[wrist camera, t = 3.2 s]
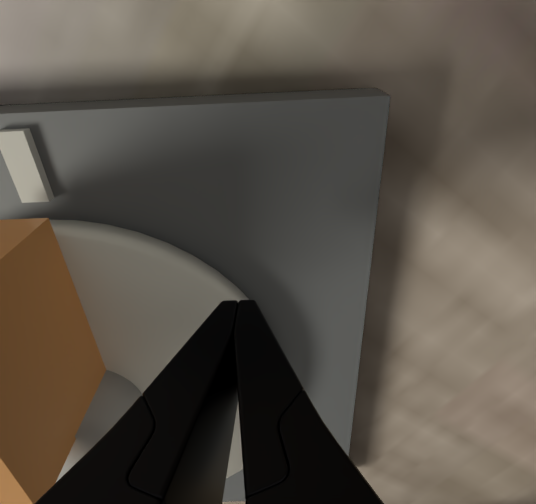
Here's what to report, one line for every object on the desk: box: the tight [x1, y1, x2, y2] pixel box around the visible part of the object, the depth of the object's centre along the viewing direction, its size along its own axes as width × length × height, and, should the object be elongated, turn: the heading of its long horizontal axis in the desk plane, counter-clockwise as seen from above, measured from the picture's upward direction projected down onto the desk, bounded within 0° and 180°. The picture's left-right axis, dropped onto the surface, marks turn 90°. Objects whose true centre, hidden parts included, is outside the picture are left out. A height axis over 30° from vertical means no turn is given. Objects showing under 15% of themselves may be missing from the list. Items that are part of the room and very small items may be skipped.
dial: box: [0, 218, 249, 504], centre depth 12 cm, size 14×14×6 cm
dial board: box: [0, 88, 390, 502], centre depth 16 cm, size 20×20×2 cm
